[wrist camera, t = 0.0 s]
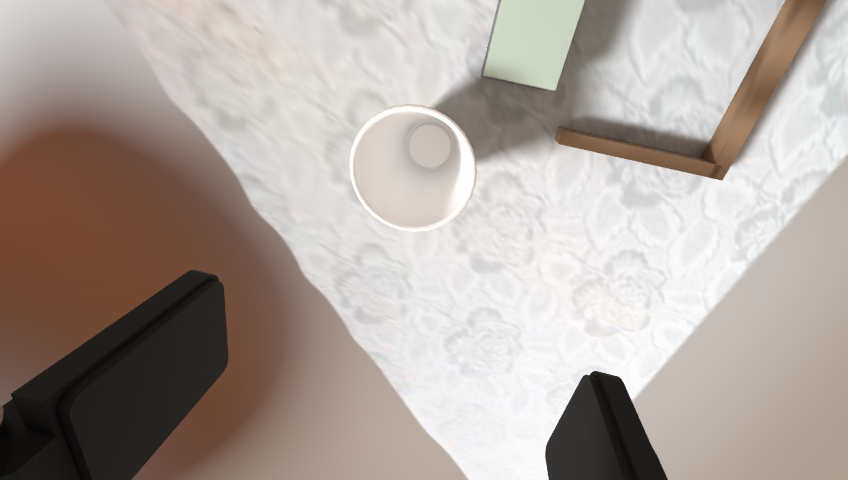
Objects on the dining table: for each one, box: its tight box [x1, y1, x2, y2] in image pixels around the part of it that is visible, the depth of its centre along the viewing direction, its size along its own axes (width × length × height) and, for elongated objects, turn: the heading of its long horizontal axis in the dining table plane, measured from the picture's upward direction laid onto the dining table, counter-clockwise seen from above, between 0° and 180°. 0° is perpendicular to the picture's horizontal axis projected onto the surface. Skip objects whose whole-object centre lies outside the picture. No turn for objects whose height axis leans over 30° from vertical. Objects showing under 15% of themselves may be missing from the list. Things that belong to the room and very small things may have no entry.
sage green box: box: [481, 0, 585, 91], centre depth 30 cm, size 7×6×6 cm
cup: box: [350, 104, 477, 232], centre depth 33 cm, size 10×10×11 cm
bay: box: [555, 0, 826, 180], centre depth 31 cm, size 15×15×2 cm
